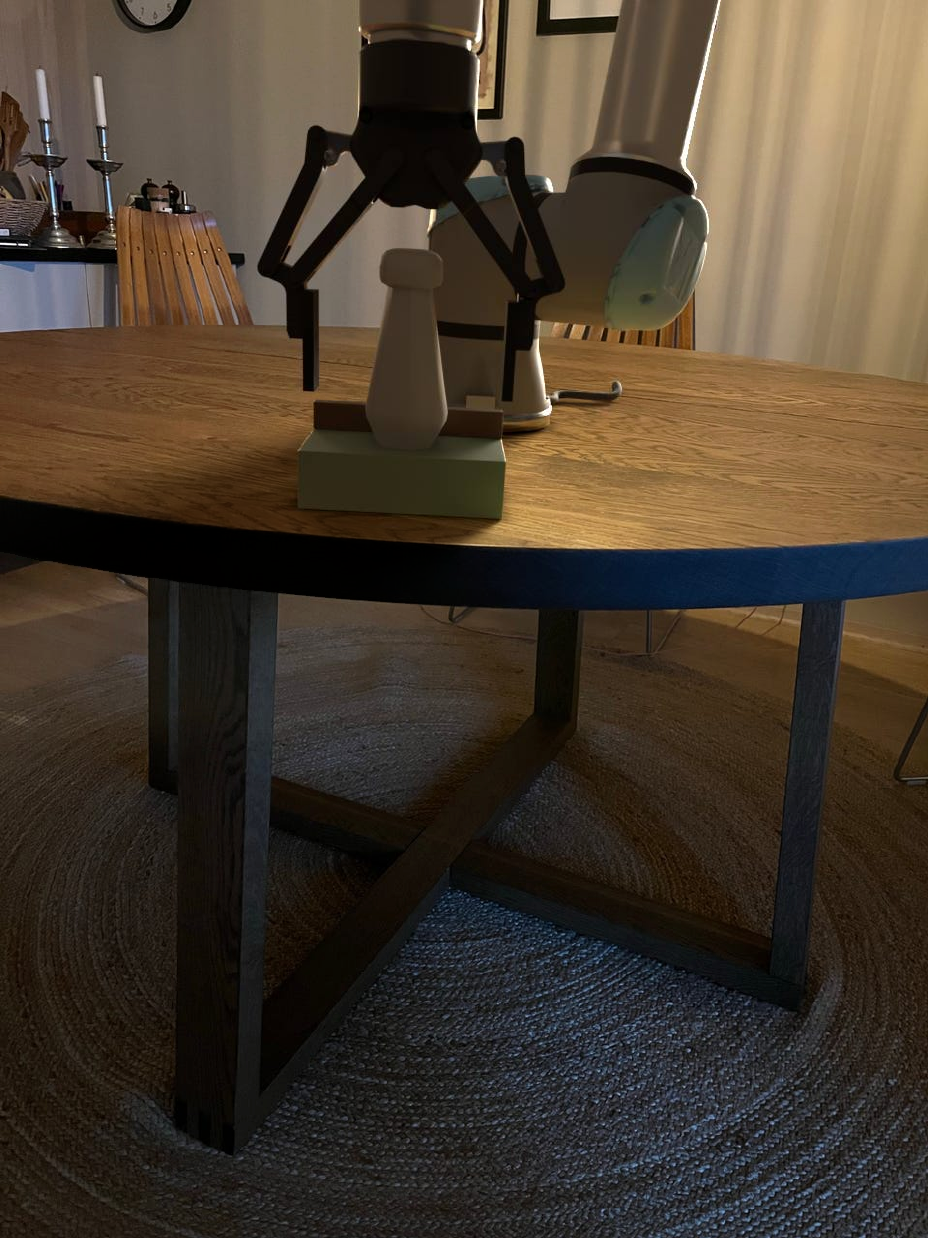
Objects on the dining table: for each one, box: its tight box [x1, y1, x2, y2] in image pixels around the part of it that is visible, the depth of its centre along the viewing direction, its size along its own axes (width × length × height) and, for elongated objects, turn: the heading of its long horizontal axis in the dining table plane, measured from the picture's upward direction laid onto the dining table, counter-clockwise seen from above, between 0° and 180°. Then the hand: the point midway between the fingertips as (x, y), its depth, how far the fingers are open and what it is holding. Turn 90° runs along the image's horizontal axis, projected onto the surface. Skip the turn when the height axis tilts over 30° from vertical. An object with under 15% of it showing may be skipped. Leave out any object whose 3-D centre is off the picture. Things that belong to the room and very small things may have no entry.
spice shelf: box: [297, 399, 507, 520], centre depth 71 cm, size 9×14×6 cm, turn 90°
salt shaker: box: [365, 247, 448, 450], centre depth 68 cm, size 6×6×13 cm
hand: (408, 394), depth 69 cm, fingers open, 13 cm apart
